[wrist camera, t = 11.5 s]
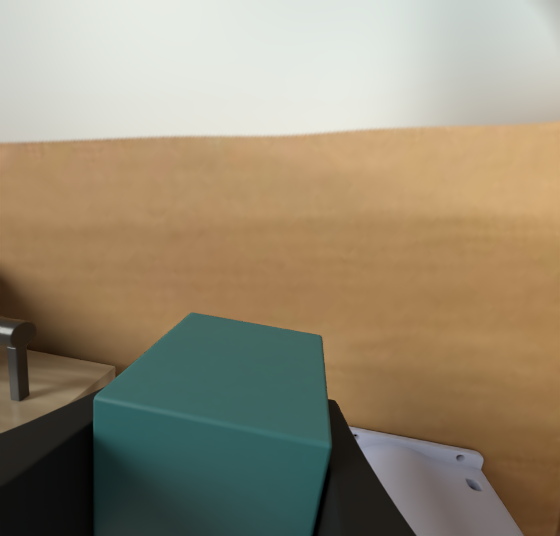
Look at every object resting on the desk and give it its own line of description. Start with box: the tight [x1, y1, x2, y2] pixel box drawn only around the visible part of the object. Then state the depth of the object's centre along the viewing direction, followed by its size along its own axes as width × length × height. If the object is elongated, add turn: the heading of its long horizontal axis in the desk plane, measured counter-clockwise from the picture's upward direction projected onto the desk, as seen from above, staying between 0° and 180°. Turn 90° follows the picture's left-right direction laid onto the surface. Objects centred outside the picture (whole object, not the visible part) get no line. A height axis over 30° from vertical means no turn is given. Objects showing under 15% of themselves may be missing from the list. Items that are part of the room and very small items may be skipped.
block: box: [93, 313, 332, 536], centre depth 8 cm, size 4×4×4 cm
